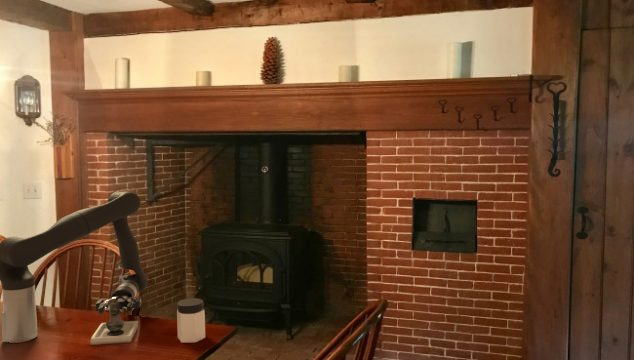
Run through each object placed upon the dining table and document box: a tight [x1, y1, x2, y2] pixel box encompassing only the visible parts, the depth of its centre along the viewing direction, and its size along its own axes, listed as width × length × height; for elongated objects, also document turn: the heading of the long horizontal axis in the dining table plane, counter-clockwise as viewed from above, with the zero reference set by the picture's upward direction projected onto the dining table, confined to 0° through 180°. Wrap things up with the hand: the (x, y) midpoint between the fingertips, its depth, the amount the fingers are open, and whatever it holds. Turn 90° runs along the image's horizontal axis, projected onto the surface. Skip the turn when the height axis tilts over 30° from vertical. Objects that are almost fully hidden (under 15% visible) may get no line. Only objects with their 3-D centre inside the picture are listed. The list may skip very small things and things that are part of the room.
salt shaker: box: [105, 298, 126, 336], centre depth 173 cm, size 6×6×12 cm
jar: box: [176, 298, 206, 343], centre depth 170 cm, size 9×8×12 cm
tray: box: [90, 320, 139, 346], centre depth 173 cm, size 12×14×2 cm
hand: (114, 310), depth 172 cm, fingers open, 8 cm apart
